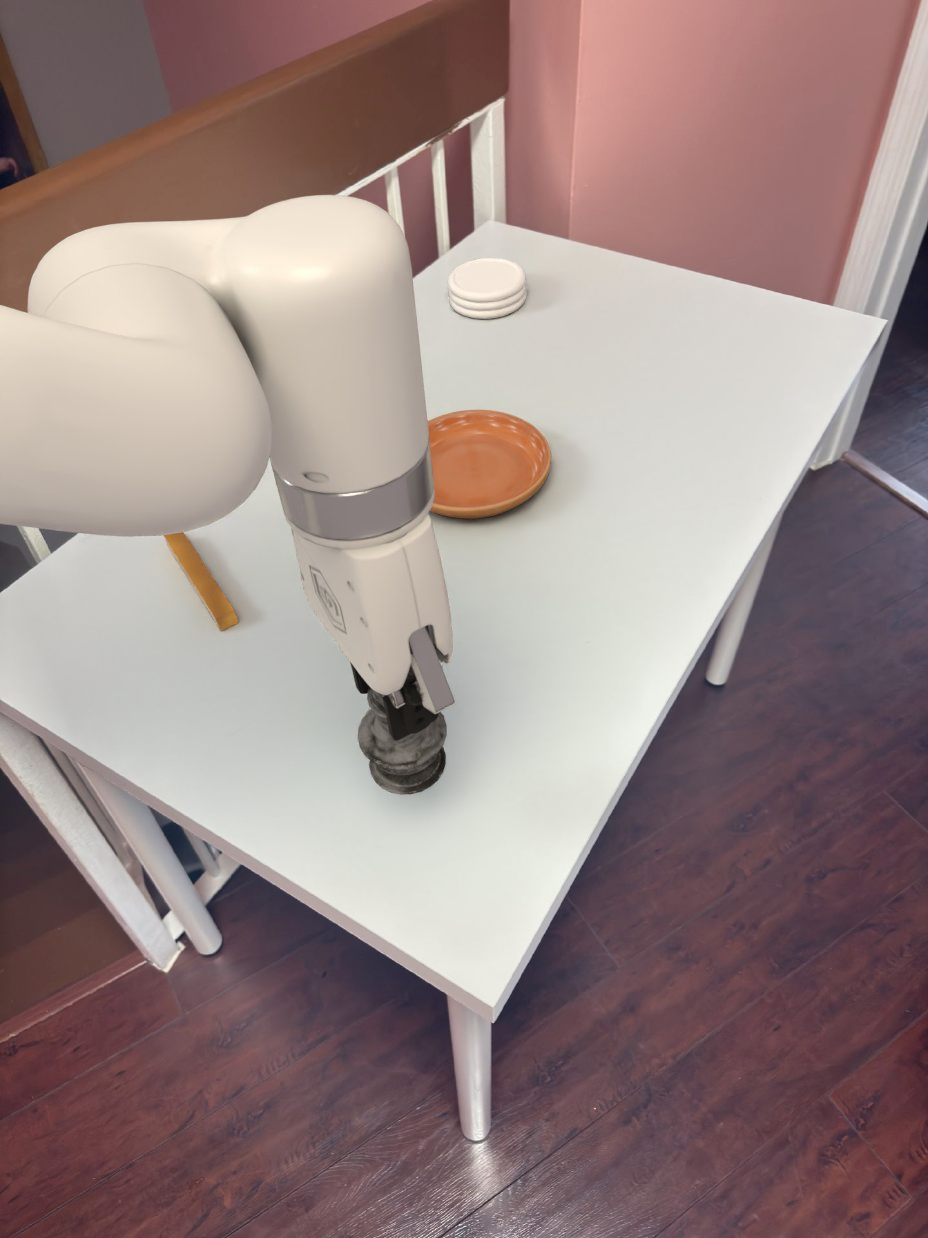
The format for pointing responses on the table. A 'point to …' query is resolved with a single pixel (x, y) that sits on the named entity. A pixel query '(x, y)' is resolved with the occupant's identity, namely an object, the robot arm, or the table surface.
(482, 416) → the saucer
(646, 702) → the table surface
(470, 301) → the coaster
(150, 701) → the table surface
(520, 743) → the table surface
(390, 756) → the salt shaker
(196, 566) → the golden stick
